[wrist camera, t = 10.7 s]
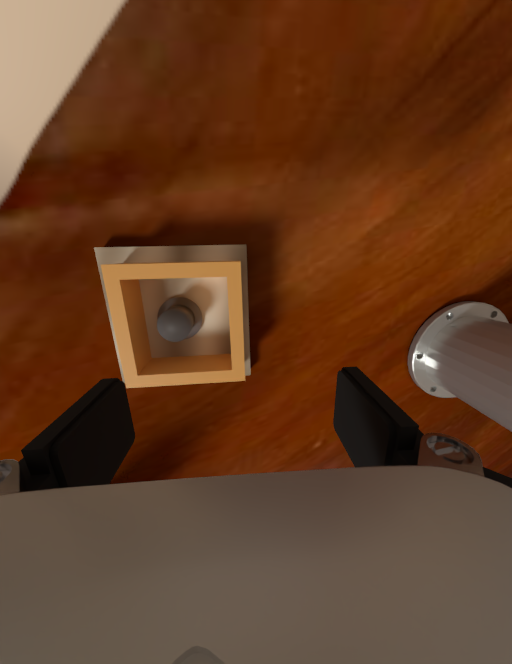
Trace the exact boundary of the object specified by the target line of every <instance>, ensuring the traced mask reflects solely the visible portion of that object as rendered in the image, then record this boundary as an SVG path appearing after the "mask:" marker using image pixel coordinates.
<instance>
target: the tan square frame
mask: <svg viewBox="0 0 512 664" xmlns="http://www.w3.org/2000/svg"><path fill="white" fill-rule="evenodd" d="M101 269H102V274H103V279H104V284H105V288H106V293H107V298H108V303H109V308H110V312H111V317H112V322H113V327H114V332H115V336H116V341H117V346H118V351H119V355H120V360H121V365H122V370H123V375H124V379H125V384H126V388H136V387H152V386H169V385H185V384H201V383H217V382H234V381H245V362H244V336H243V309H242V283H241V261H197V262H153V263H118V264H103V265H101ZM202 277H227V289H228V307H229V325H230V343H231V354H218V355H199V356H180V357H161V358H152V357H151V351H150V345H149V338H148V332H147V326H146V320H145V314H144V308H143V302H142V296H141V290H140V284H139V279H166V278H202Z"/></svg>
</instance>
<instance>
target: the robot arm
mask: <svg viewBox="0 0 512 664" xmlns="http://www.w3.org/2000/svg"><path fill="white" fill-rule="evenodd" d="M408 368H409V373H410V375H411V378H412V380H413V381H414V382H415V383H416V385H417V386H419V387H420V388H421V389H422V390H424V391H425V392H427V393H428V394H430V395H433V396H436V397H443V398H451V397H458V398H459V399H461V400H463V401H464V402H466V403H467V404H469V405H470V406H472V407H474V408H475V409H477V410H478V411H480V412H482V413H483V414H485V415H486V416H488V417H489V418H491V419H493V420H494V421H496V422H497V423H499V424H500V425H502V426H504V427H505V428H507V429H508V430H510V431H511V432H512V324H510V323H509V322H508V320H507V318H506V317H505V315H504V314H503V313H502V312H501V311H500V310H499V309H498V308H496V307H494V306H493V305H489V304H486V303H482V302H475V301H463V302H459V303H455V304H452V305H450V306H447V307H445V308H443V309H441V310H440V311H438V312H437V313H435V314H434V315H433V316H431V317H430V318H429V319H428V320H427V321H426V322H425V323H424V324H423V325H422V327H421V328H420V329H419V330H418V332H417V334H416V335H415V337H414V339H413V341H412V344H411V346H410V350H409V354H408ZM333 423H334V428H335V431H336V433H337V435H338V436H339V438H340V440H341V442H342V444H343V446H344V447H345V449H346V451H347V453H348V455H349V457H350V458H351V460H352V462H353V464H354V466H355V467H352V468H336V469H321V470H305V471H289V472H274V473H259V474H244V475H229V476H215V477H201V478H187V479H173V480H159V481H145V482H132V483H119V484H110V482H111V480H112V478H113V477H114V475H115V473H116V472H117V470H118V468H119V466H120V465H121V463H122V461H123V459H124V458H125V456H126V454H127V453H128V451H129V449H130V447H131V446H132V444H133V442H134V439H135V432H134V427H133V422H132V418H131V413H130V408H129V403H128V399H127V394H126V389H125V385H124V382H122V381H120V380H119V379H118V378H111V379H102V380H100V381H99V382H98V383H97V384H96V385H95V386H94V387H93V388H91V389H90V390H89V391H88V392H87V393H86V394H85V395H83V396H82V397H81V398H80V399H79V400H78V401H77V402H75V403H74V404H73V405H72V406H71V407H70V408H69V409H67V410H66V411H65V412H64V413H63V414H62V415H61V416H60V417H58V418H57V419H56V420H55V421H54V422H53V423H52V424H50V425H49V426H48V427H47V428H46V429H45V430H44V431H42V432H41V433H40V434H39V435H38V436H37V437H36V438H35V439H33V440H32V441H31V442H30V443H29V444H28V445H27V446H25V447H24V448H23V449H22V450H21V451H22V454H23V456H24V458H23V459H21V460H20V461H19V462H18V461H15V460H1V461H0V664H512V478H509V477H507V476H504V475H502V474H499V473H497V472H494V471H492V470H489V469H487V468H484V467H483V466H482V461H481V458H480V456H479V454H478V453H477V452H476V451H475V450H474V449H473V448H472V447H470V446H469V445H468V444H466V443H465V442H463V441H461V440H459V439H457V438H455V437H452V436H450V435H446V434H442V433H426V434H425V435H424V434H423V433H422V432H421V431H420V430H419V429H418V428H419V425H418V424H417V423H415V422H414V421H413V420H412V419H411V418H410V417H409V416H408V415H407V414H406V413H405V412H404V411H403V410H402V409H401V408H400V407H399V406H398V405H396V404H395V403H394V402H393V401H392V400H391V399H390V398H389V397H388V396H387V395H386V394H385V393H384V392H383V391H382V390H381V389H380V388H379V387H377V386H376V385H375V384H374V383H373V382H372V381H371V380H370V379H369V378H368V377H367V376H366V375H365V374H364V373H363V372H362V371H361V370H360V369H358V368H357V367H343V368H342V370H341V371H338V375H337V386H336V398H335V409H334V421H333Z"/></svg>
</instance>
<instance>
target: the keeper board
mask: <svg viewBox="0 0 512 664" xmlns="http://www.w3.org/2000/svg"><path fill="white" fill-rule="evenodd" d="M94 250H95V254H96V259H97V264H98V268H99V273H100V277H101V282H102V287H103V291H104V296H105V301H106V305H107V310H108V315H109V319H110V324H111V329H112V333H113V338H114V343H115V347H116V352H117V357H118V361H119V366H120V371H121V375H122V380H123V382H124V383H125V379H124V375H123V370H122V365H121V360H120V355H119V351H118V346H117V341H116V336H115V332H114V327H113V322H112V317H111V312H110V308H109V303H108V298H107V293H106V288H105V284H104V279H103V274H102V269H101V265H103V264H118V263H153V262H197V261H241V283H242V309H243V336H244V362H245V375H251V371H250V340H249V309H248V278H247V247H246V245H197V246H146V247H96V248H94ZM139 284H140V290H141V296H142V302H143V308H144V314H145V320H146V326H147V332H148V338H149V345H150V351H151V357H152V358H161V357H180V356H199V355H218V354H231V343H230V325H229V307H228V289H227V277H202V278H166V279H139Z"/></svg>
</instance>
